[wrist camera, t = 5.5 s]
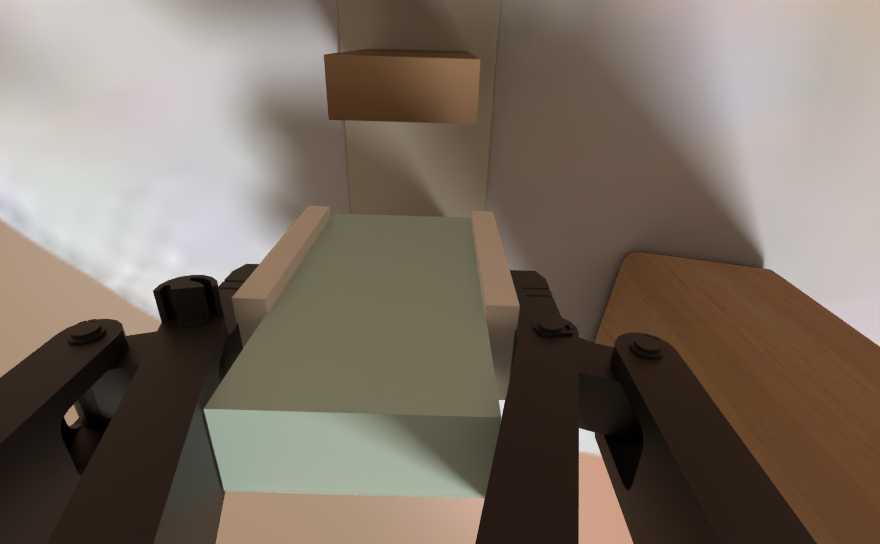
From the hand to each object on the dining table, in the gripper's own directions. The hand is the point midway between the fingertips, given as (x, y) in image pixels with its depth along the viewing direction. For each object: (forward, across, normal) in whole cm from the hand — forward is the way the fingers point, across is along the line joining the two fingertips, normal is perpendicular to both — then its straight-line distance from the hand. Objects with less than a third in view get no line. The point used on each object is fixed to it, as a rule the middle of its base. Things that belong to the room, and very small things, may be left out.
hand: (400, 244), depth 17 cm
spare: (0, 0, 0) cm, 0 cm away
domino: (+11, 0, +5) cm, 12 cm away
